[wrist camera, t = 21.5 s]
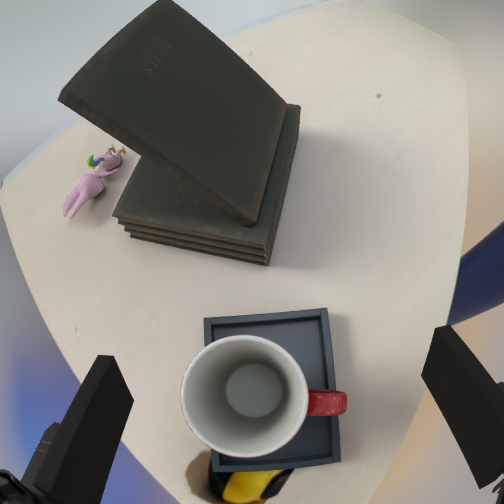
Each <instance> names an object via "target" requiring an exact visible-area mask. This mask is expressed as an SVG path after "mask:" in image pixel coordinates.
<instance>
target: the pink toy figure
mask: <svg viewBox="0 0 504 504" xmlns="http://www.w3.org/2000/svg"><path fill="white" fill-rule="evenodd" d="M122 148H123V147H122ZM111 150H112V151H113V152H114V153H115V151H116V150H115V149H114V147H113V145H112V148H109V149H108V151H107V153H106V154H103V155H102V156H101V157H96V158H95V159H93V155H94V154H93V155H92V156H90V157H89V159H88V165H89V166H90V168H91V171H92V173H93V174H86V175H84V176H83V177H82V178H81V179H80V180H79V181H78V183H77V185H76V188H75V189H74V190H73V191H72V192H71V193H70V194H69V195H68V196H67V198H66V199H65V201H64V204H63V215H64V217H65V216H66V215H67V213H68V211H69V210H70V209H71V207H72V206H73V207H72V211H71V214H70V219H71V218H72V217H73V216H74V215H75V213H76V212H77V210H78V209H79V208H80V207H81V206H82V205H83V204H84V203H85V202H86V201H87V200H88V199H89V198H93V197H95V196H96V195H97V194H98V193H100V192H101V191H102V190H103V189H104V184H103V182H102V181H101V180H100V178H102V177H104V176H108V175H110V174H113V173H115V172H117V171H118V169H114V170H112V171H110V172H108V171H109V170H111V169H113V168H115V167H117V166H118V165H119V164H120V163H121V151H123V153H124V154H125V153H126V151H125V149H124V148H123V149H122V150H119V151H118V153H116V154H115V155H112V153H111ZM116 152H117V151H116ZM126 154H127V153H126ZM126 154H125V155H126ZM99 163H100V166H99V168H98V169H97V170H95V169H94V168H93V167H96V166H98V165H99ZM73 204H74V205H73Z"/></svg>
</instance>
